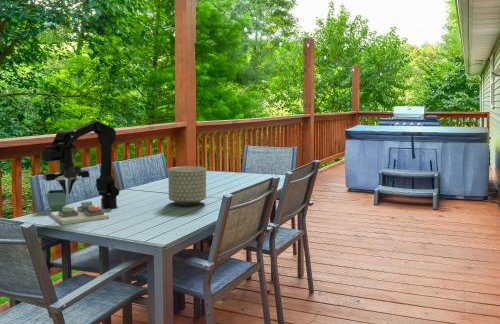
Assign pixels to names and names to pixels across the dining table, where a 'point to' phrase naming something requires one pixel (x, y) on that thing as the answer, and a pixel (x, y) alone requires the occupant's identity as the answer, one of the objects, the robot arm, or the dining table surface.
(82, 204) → the slate button
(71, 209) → the sage button
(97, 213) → the button panel
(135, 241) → the dining table surface
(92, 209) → the brick button
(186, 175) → the planter
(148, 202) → the dining table surface
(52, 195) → the flower pot
